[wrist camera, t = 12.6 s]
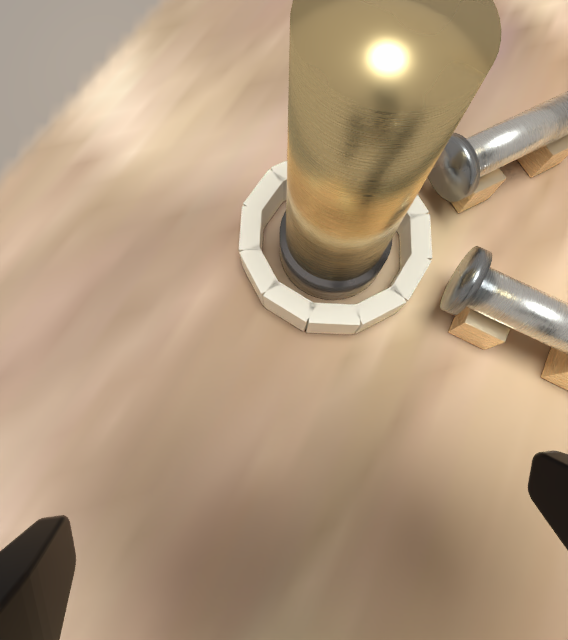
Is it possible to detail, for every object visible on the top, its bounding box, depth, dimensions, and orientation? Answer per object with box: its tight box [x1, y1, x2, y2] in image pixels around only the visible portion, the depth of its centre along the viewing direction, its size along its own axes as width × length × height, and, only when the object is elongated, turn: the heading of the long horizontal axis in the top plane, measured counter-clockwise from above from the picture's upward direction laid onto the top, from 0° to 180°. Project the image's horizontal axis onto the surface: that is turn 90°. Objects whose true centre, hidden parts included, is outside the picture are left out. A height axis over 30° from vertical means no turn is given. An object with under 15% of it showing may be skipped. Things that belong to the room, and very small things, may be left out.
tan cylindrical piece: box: [280, 0, 501, 300], centre depth 16 cm, size 6×6×13 cm
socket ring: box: [239, 161, 432, 335], centre depth 21 cm, size 10×10×2 cm
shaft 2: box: [440, 246, 568, 390], centre depth 19 cm, size 8×3×5 cm, turn 62°
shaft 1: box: [428, 91, 568, 214], centre depth 21 cm, size 8×3×5 cm, turn 117°
